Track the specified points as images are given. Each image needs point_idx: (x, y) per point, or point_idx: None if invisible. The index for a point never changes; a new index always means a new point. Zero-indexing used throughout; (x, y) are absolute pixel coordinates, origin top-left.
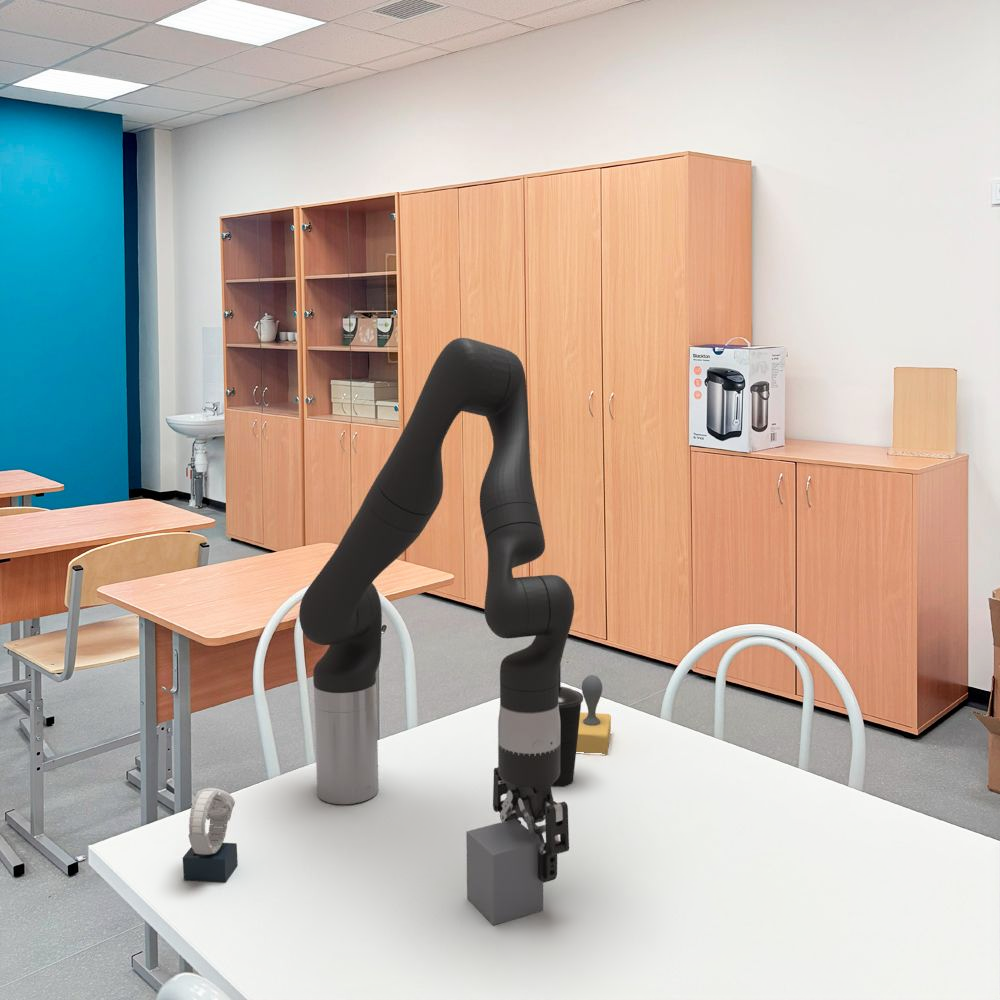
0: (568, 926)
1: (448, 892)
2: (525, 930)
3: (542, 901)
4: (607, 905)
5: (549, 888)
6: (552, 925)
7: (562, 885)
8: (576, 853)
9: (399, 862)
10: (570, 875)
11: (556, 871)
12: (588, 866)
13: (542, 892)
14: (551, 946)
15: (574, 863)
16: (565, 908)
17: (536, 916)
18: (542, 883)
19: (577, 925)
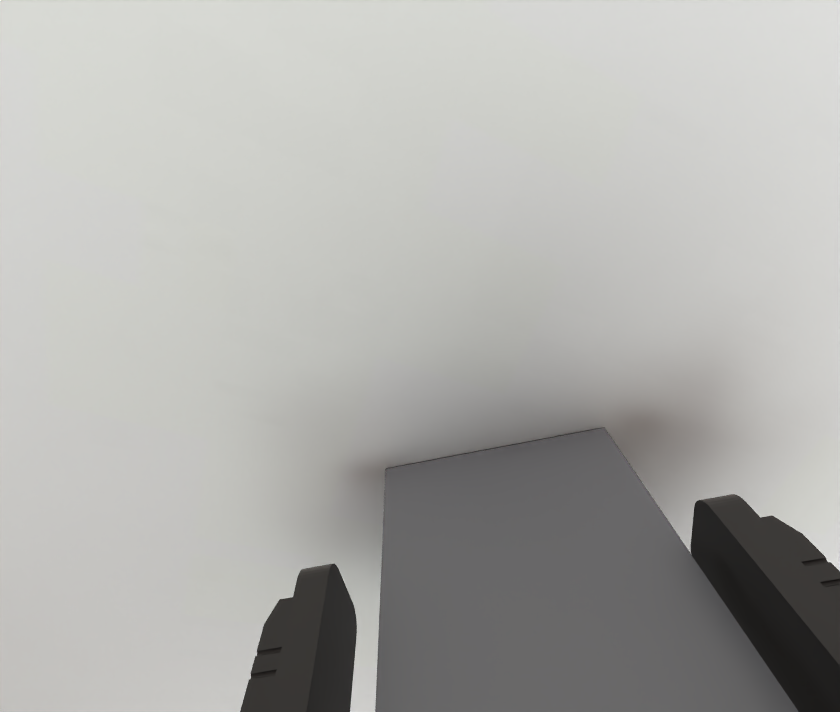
0: (755, 376)
1: (373, 636)
2: (685, 506)
3: (620, 453)
4: (723, 143)
5: (459, 357)
6: (712, 425)
7: (454, 295)
8: (119, 84)
9: (162, 706)
10: (374, 222)
11: (815, 551)
12: (298, 72)
13: (640, 482)
14: (818, 462)
15: (247, 149)
16: (636, 345)
17: (628, 457)
18: (664, 517)
19: (772, 342)
